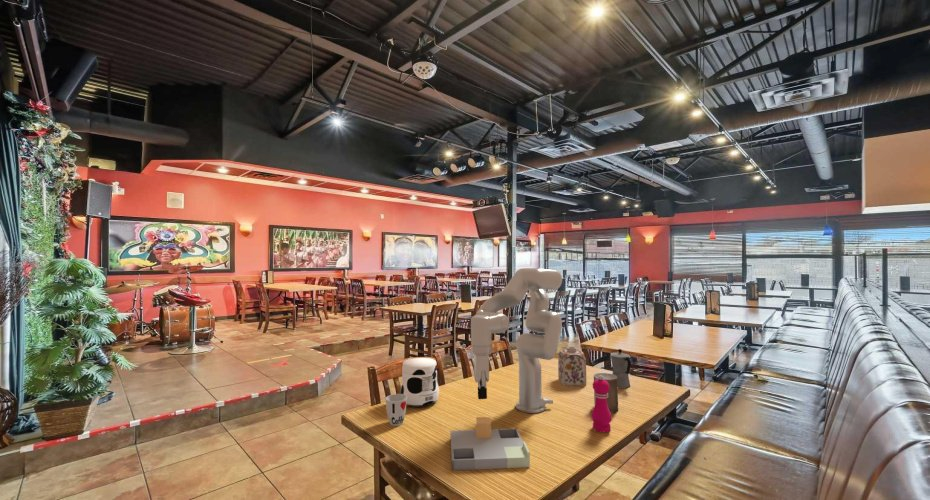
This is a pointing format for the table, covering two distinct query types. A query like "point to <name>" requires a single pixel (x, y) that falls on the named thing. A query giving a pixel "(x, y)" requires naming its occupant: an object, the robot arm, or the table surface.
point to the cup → (396, 408)
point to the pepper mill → (601, 406)
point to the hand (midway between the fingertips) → (482, 398)
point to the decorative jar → (572, 367)
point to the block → (483, 427)
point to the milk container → (420, 381)
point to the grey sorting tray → (488, 450)
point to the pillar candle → (610, 390)
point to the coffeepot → (621, 368)
